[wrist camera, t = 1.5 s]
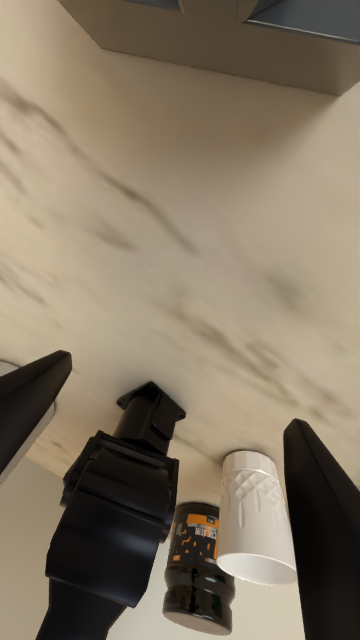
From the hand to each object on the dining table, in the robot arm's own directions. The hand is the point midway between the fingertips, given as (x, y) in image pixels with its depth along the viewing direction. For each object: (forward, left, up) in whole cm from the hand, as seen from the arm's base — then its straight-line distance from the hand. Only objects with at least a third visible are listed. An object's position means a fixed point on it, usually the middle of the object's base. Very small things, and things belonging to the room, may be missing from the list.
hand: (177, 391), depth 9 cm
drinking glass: (-11, -24, -12) cm, 29 cm away
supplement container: (-27, -35, -12) cm, 46 cm away
